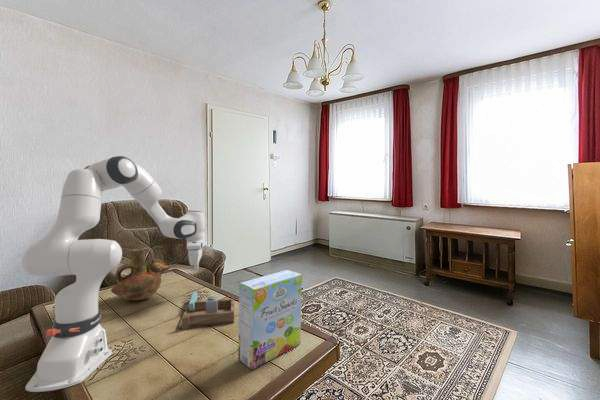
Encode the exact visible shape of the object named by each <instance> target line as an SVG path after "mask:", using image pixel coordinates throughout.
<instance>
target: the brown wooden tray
mask: <svg viewBox="0 0 600 400" xmlns="http://www.w3.org/2000/svg"><path fill="white" fill-rule="evenodd" d="M191 298H192V297H190V298H189V301H188V303H187V305H186V308H185V309H184V310H185V311H184V313H183V315H182V317H181V320H180V322H179V324H178V330H184V331H185V330H189V329H191V328H195V327H205V326H216V325H225V324H234V323H235V298H226V299H218V312H216V313H206V300H202V301H201V300H200V298H199V297H198V298H197V301H196V302H195V303H194V309H193V310H191V311H189V303H190V300H191Z"/></svg>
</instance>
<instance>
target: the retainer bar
mask: <svg viewBox="0 0 600 400" xmlns="http://www.w3.org/2000/svg"><path fill="white" fill-rule="evenodd" d="M190 298H191V300H190V299H189V300H190V303H189V311H191V310H193V309H194V303H195V302H196V301H197V299H198V291H193V293H192V296H191V297H190Z"/></svg>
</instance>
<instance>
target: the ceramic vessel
mask: <svg viewBox="0 0 600 400" xmlns="http://www.w3.org/2000/svg"><path fill="white" fill-rule="evenodd" d="M146 263H147V262H146V252H145V249H138V248H136V249H134V248H133V249H131V250H130V262H129V263H125V264H122V265H121V266H119V267H118V268H117V269H116V271H115V280H116V283H117V284H115V286H113V287H112V288H111V289H110V292H111V293H112V294H113V295H115V296H118V297H120V298H121V299H124V300H129V301H135V302H137V301H138V302H140V301H143V300H145V299H149V298H150V297H151V296H153V295H155V293H156V292H157V291H158V290H159V288H160V287H161V283H162V274H163V273H166V272H167V271H168V270H170V269H171V265H167V264H166V263H165V262H164V261H163V260H162V259H160V258H159V259H158V258H157V259H153V260H152V261H151V262H150V263H149V266H148V268H147V264H146ZM128 269H129V270H130V273H128V274H127V275H125V276H122V272H123V271H125V270H128Z"/></svg>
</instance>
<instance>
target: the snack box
mask: <svg viewBox="0 0 600 400" xmlns="http://www.w3.org/2000/svg"><path fill="white" fill-rule="evenodd" d="M302 280H303V274H301V273H299V272H296V271H291V270H289V269H286V270H281V271H278V272H274V273H270V274H266V275H264V276H259V277H256V278H253V279H249V280H245V281H241V282H239V285H238V287H239V288H238V289H239V290H238V293H239V295H238V345H237V346H238V352H237V353H238V360H239V361H241V362H242V363H243V364H244V365H246V366H247V368H249V369H250V370H252V371H253V370H255V369H257V368H258V367H260V366H262V365H264V364H266V363H267V362H269V361H271V360H274V359H275V358H276V357H279V356H280V355H282V354H284V353H285V352H287V351H289V350H291V349H293V348H295V347H297V346H299V345H300V344H301V337H302V336H301V335H302V334H301V333H302V295H303V294H302V292H303V291H302V287H303V281H302Z"/></svg>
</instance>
